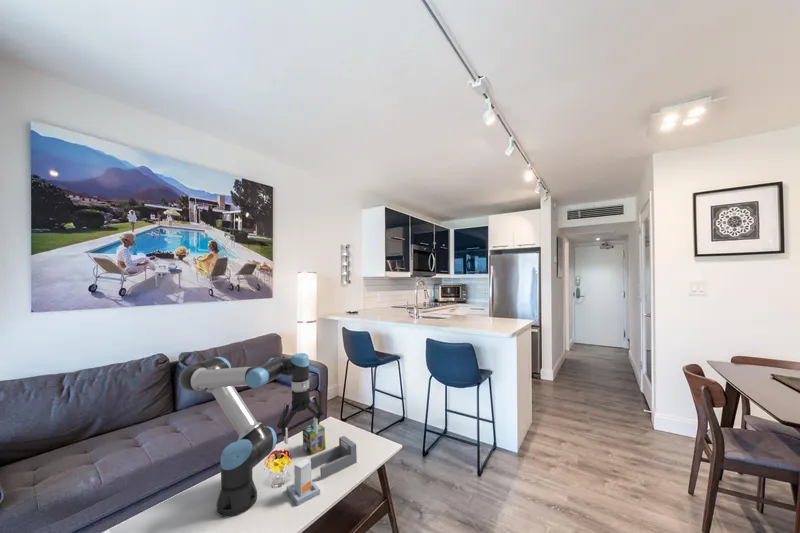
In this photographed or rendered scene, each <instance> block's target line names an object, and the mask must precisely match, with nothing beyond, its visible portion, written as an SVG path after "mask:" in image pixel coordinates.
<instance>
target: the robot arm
mask: <svg viewBox="0 0 800 533" xmlns="http://www.w3.org/2000/svg"><path fill="white" fill-rule="evenodd" d="M309 360H310V359H309V355H308V354H307V353H305V352H304V353H303V352H302V353H294V354H292V355H291V356H290V357H286V358H285V357H271V358H269V359H268V360H267V361H266V363H265V364H262V365H258V366H244V367H243V366H242V367H232V365H231V363H230V362H229V360H228V359H227V358H225V357H222V356H215V357H210V358H207V359H205V360H202V361H198V362H196V363H193V364H190V365H188V366H186V367H185V368H184V369H183V370H181V372H180V374H179V376H178V383H179V386H180V387H181V389H183V390H184V391H187V392H199V391H203V390H205V391H206V393H210V394H211V393H212V395H213V397H214V399H215V400H216V401H217V403H218V405H219V406H220V408H221V409H222V411H223V412H224V414H225V416H226V417H227V418H228V421H229V422H230V423H231V425H232V427H233V428H234V429H235V432H236V433H237V435H238V438H237V440H236V441H233V442H231V443H229V444H228V445H226V446H225V447H224V449H223V450H222V452H221V455H220V462H219V464H220V483H221V486H220V492H219V496H218V499H217V501H216V513H217V512H218V513H219V514H220V515H222V516H221V517H224V516H230V517H235V516H237V515H241V514H243V513H245V512H246V511H249V509H251V508H252V507H253V506H254V505H255V504H256V502H257V501H258V489H257V486H256V485H255V482H254V479H253V469H254V468H255V467H256V466H257V465H258V464H259V463H260V462H262V461H263V460H264V459H265V458H266V457H268V456H269V455H270V454H271V453H272V452H273V451H274V449H275V448H276V446H277V442H278V441H277V440H278V439H277V433H276V431H275V430H274V429H273V427H270V426H268V425H267V426H265V425H264V423H263V422H258V421H257V420H256V419H255V417H254V415H253V414H252V412H251V411H250V410H249V408H248V406H247V404H246V403H245V401H244V400H243V398H242V397H241V395H240V394H239V393H238V391H237V389H236V388H235V387H244V386H245V387H246V386H248V387H250V388H251V389H258V388H260V387H263V386H265V385H267V384H268V383H270V382H272V381H273V380H276V379H277V378H279V377H282V376H283V377H284V376H285V377H286V376H287V377H288V376H289V377H290V378H291V402H290V403H287V402H286V403H284V408H283V410H282V412H281V416H280V417H279V420H278V422H277V425H276V427H277V428H278V429H279V430H281V436H282V438H283V443H284V444H285V445H288V444H289V439H288V438H289V437H288V436H289V431H288V430H289V429H288V425H289V424H290V422H291V421H292V419H293V418H294V416H295V415H296V414H297V413H300V412H301V411H306V410H308V411H309V412H310V413H312V415H314V416H313V423H314V432H315V433H316V434H317V433H318V425H319V424H320V419H321V416H323V415H324V412H323V410H322V408H321V407H320V405H319V403H318V402H317V396H314V395H312V396H311V397H310V372H309V371H310V361H309ZM310 402H311V403H312V404H313V406H314V408H315V409H316V411H317V412H316V411H315V410H314V409H313V407H311V406H310V405H309V404H310ZM291 407H292V408H291ZM289 410H290V412H289ZM218 513H217V514H218ZM219 514H218V515H219ZM220 515H219V516H220Z"/></svg>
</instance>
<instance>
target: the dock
mask: <svg viewBox="0 0 800 533" xmlns="http://www.w3.org/2000/svg"><path fill="white" fill-rule="evenodd" d="M357 458H358V456H357V443H356V442H354V441H353V440H351V439H349V438H348V437H347V436H346V435H342V436H339V437H338V445H337V446H335V447H333V448H330V449H328V450H326V451H323V452H321V453H319V454H317V455H314V456H312V457H310V461H311V470H315V469H317V468H318V467H319V469H320V473H319V474H320V479H321V480H325V479H326V478H328V477H331V476H332V475H334V474H336V473H338V472H340V471H342V470H344V469H346V468H348V467H351V466H352V465H354V464H357V463H358V462H357V460H358V459H357Z"/></svg>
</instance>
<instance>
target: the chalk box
mask: <svg viewBox="0 0 800 533" xmlns="http://www.w3.org/2000/svg"><path fill="white" fill-rule="evenodd" d="M309 424H310V425H307V426H304V427H302V448H303V449H302V450H304V451H305V452H306V453H307V454H308V455H310V456H312V455H313V454H316V453H319V452H320V451H323V450H325V449H326V448H327V447H326V430H325V428H326V427H324V426H323V425H321V424H320V423H319V425H318V433H317V434H316V433H315V432H314V422H312V421H311V420H310V421H309Z"/></svg>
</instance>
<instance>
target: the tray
mask: <svg viewBox="0 0 800 533" xmlns="http://www.w3.org/2000/svg"><path fill="white" fill-rule="evenodd" d="M286 492H287V494H288V495H289V496H290V497H291V499H292V501H294V503H295V504H296V506H300V505H301V504H304V503H305V502H308V501H309V500H311V499H313V498H315V497H317V496H319V495H321V489H320V488H319V487H318V485H316V484H315V482H314V481H313V480H312V479H311V489H310V490H308V491H307V492H306V493H304V494H303V495H302V496H299V495H298V494H296V493H295V482H293V483H291V484H289V485H286Z"/></svg>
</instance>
